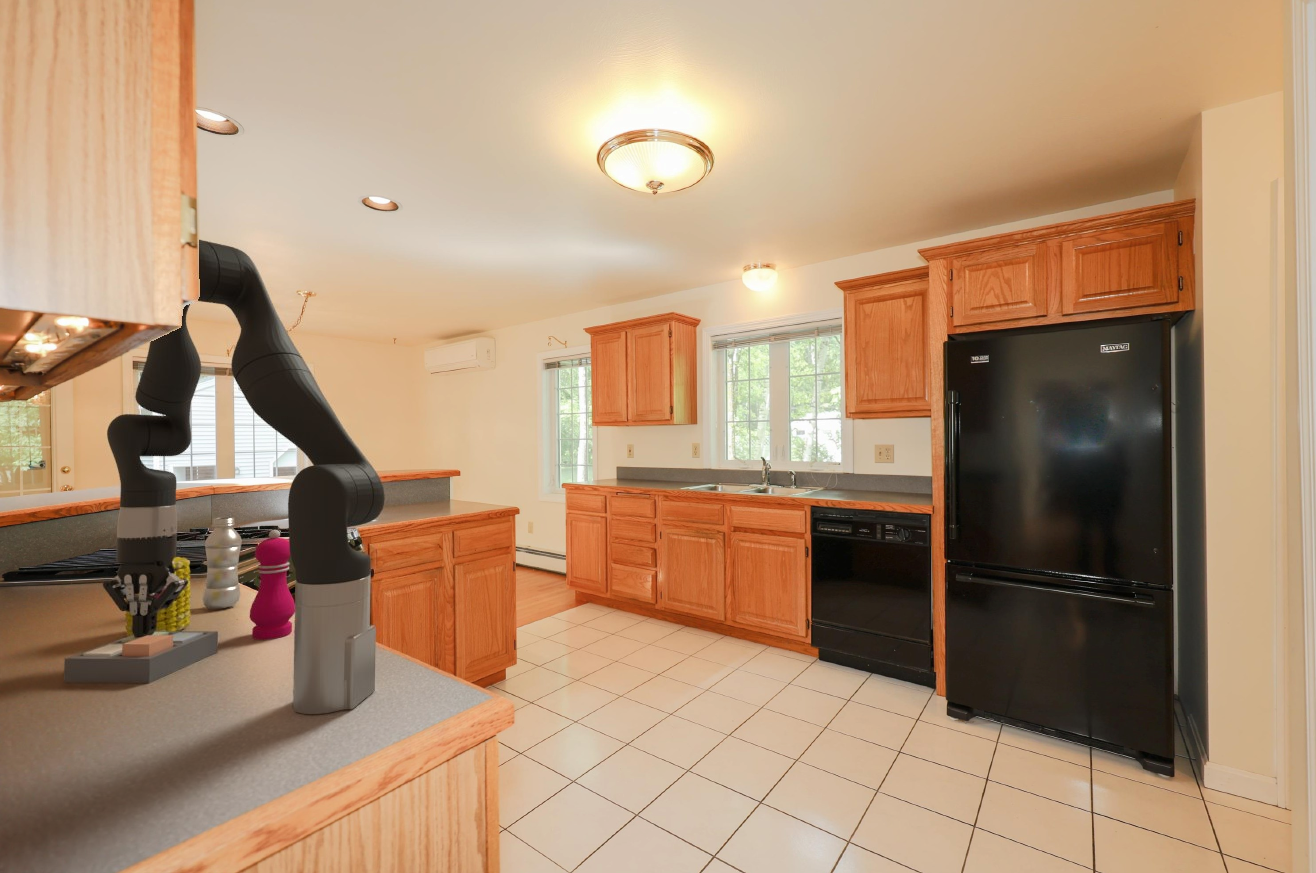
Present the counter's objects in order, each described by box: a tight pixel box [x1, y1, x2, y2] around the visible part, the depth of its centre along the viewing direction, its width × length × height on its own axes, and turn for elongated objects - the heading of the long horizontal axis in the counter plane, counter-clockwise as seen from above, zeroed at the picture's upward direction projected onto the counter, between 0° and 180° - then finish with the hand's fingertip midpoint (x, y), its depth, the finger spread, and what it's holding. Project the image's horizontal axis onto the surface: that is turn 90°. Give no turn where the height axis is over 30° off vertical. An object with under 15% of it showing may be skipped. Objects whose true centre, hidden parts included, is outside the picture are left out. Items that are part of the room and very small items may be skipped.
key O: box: [173, 632, 203, 643], centre depth 94 cm, size 4×4×3 cm
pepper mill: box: [249, 529, 295, 641], centre depth 107 cm, size 7×7×20 cm
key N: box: [83, 644, 122, 656], centre depth 88 cm, size 4×4×3 cm
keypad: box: [63, 630, 219, 684], centre depth 91 cm, size 13×13×4 cm
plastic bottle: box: [202, 517, 243, 610], centre depth 126 cm, size 6×7×20 cm
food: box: [124, 556, 192, 637], centre depth 108 cm, size 15×12×10 cm
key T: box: [122, 635, 173, 656], centre depth 88 cm, size 4×4×3 cm
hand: (144, 635), depth 94 cm, fingers closed
